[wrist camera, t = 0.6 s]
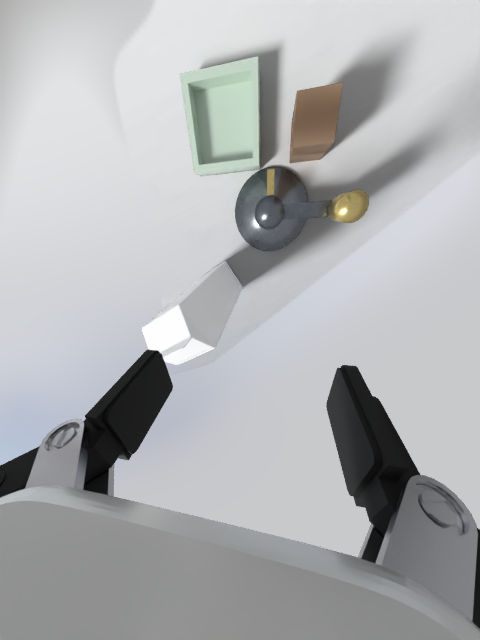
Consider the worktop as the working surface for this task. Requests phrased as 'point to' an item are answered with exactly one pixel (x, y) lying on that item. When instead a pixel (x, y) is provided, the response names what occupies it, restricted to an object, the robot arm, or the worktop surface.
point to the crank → (312, 209)
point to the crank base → (253, 191)
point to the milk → (194, 317)
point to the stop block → (314, 122)
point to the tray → (223, 116)
